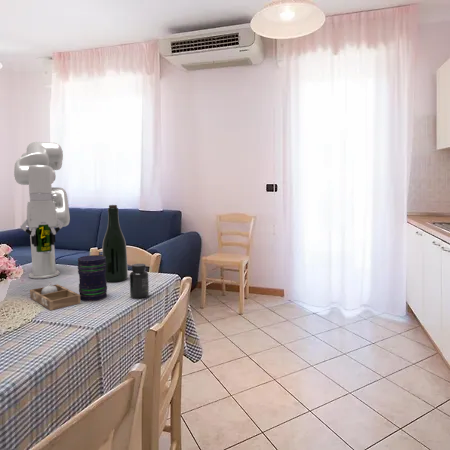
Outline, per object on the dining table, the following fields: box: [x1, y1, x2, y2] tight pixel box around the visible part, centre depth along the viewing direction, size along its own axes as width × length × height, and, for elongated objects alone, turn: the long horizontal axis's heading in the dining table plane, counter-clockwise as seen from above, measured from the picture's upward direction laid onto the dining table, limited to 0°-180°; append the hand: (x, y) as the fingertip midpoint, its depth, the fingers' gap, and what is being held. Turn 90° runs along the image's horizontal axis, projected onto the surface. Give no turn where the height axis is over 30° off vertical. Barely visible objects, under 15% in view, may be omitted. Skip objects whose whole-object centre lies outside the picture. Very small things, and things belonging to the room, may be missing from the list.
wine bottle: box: [101, 204, 129, 283], centre depth 157 cm, size 10×10×33 cm
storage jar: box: [77, 254, 108, 302], centre depth 133 cm, size 10×10×15 cm
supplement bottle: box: [129, 263, 150, 300], centre depth 135 cm, size 7×7×12 cm
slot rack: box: [29, 283, 81, 311], centre depth 130 cm, size 19×10×3 cm, turn 47°
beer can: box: [35, 222, 52, 254], centre depth 137 cm, size 5×5×12 cm
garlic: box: [41, 282, 57, 295], centre depth 133 cm, size 6×5×5 cm
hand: (43, 244), depth 138 cm, fingers closed on beer can, 5 cm apart
